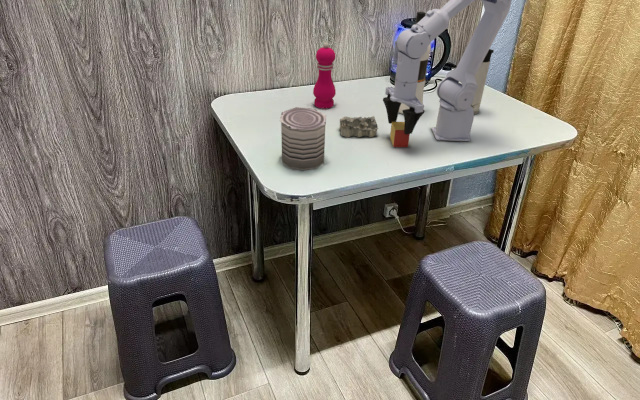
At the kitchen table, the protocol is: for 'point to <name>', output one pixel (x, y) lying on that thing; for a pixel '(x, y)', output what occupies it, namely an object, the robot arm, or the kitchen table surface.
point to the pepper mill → (324, 78)
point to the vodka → (422, 70)
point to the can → (303, 138)
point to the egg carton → (358, 126)
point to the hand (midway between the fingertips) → (400, 128)
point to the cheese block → (399, 135)
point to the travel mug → (481, 81)
